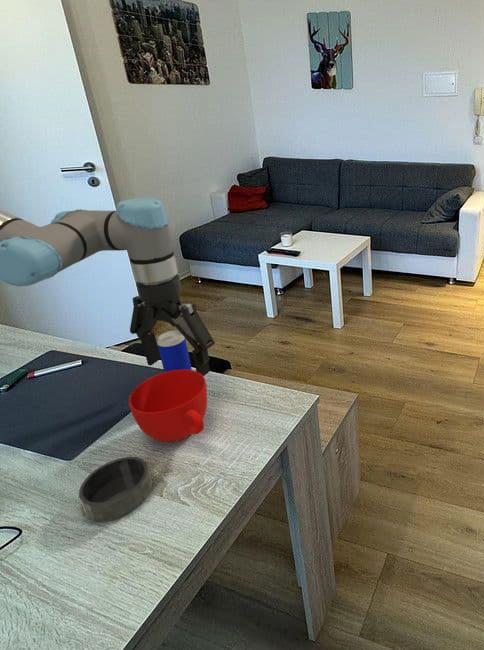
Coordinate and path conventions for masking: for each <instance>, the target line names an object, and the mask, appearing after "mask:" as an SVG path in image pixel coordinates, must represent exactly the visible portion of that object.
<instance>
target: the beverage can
mask: <svg viewBox="0 0 484 650" xmlns="http://www.w3.org/2000/svg"><path fill="white" fill-rule="evenodd" d="M157 345H158V349H159V353H160V357H161V359H160V360H161V365H162V368H163V373H164V372H168V371H172V370H182V369H186V370H193V369H192V364H191V359H190V355H189V349H188V344H187V340H186V338H185V337H184V336H183V335H182V334H181V333H180V331H179V330H178V329H177V330H175V329H174V330H168V331H165V332H163V333H161V334H160V335H158V337H157Z"/></svg>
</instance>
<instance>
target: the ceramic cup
mask: <svg viewBox="0 0 484 650" xmlns="http://www.w3.org/2000/svg"><path fill="white" fill-rule="evenodd" d="M128 405H129V409H130V412H131V414H132V417H133V418H134V420H135V423H136V424H137V426H138V427H139V429H140V430H141V431H142V432H143V434H145V435H146V436H148V437H150V439H153V440H156V441H158V442H163V443H174V442H178V441H182V440H184V439H186V438H188V437H189V436H190V435H198V434H201V432H202V431H203V430H204V428H205V423H204V418H205V415H206V411H207V407H208V390H207V381H206V379H205V376H203V375H202V374H201V373H199V372H197V371H196V370H193V369H192V370H186V369H182V370H172V371H168V372H164V371H163V372H161V373H158V374H155V375H154V376H150V377H149V378H147V379H146V380H144V381H143V382H141V383H140V384H138V385H137V386H136V387H135V388H134V389H133V391H132V392H130V395H129V398H128Z"/></svg>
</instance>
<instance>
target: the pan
mask: <svg viewBox="0 0 484 650" xmlns="http://www.w3.org/2000/svg"><path fill="white" fill-rule="evenodd" d="M152 489H153V480H152V476H151V473H150V468H149V465H148V463H147V462H146V461H145V460H144V459H143V458H141V457H138V456H125V457H119V458H116V459H114V460H110V461H108V462H106V463H104V464H103V465H101V466H98V467H97V468H96V469H95V470H94V471H92V472H91V473H90V474H88V476H87V477H86V478H85V479H84V480H83V482H82V483H81V485H80V487H79V490H78V498H79V500H80V503H81V506H82V508H83V512H84V513H85V516H86V517H87V518H88V519H89V520H92V521H94V522H99V523H105V522H106V523H107V522H111V521H112V522H113V521H115V520H118V519H120V518H122V517H125V516H127V515H129V514H130V513H132V512H133V511H135V510H136V509H138V508H139V507H140V506H141V505H143V503H145V501H146V500H147V498H148V497H149V495H150V493H151V491H152Z"/></svg>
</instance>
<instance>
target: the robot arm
mask: <svg viewBox="0 0 484 650" xmlns="http://www.w3.org/2000/svg"><path fill="white" fill-rule="evenodd" d="M164 207H165V206H164V204H163V202H162V201H161V200H159V199H157V198H156V197H155V198H154V197H139V198H137V197H136V198H134V197H133V198H128V199H125V200H121V201H119V202H118V203H117V205H116V210H98V209H97V210H96V209H95V210H94V209H91V210H88V209H81V208H79V209H75V210H64V211H61V212H58V213H56V214H55V216H54V218H53V219H52V220H51V221H50V223H48V224H46V225H43V226H39V225H36V224H35V223H32V222H30V221H27V220H25V219H23V218H21V217H19V216H16V215H14V214H12V213H10V212H7V211H5V210H4V209H2V208H0V281H2V282H3V283H6V284H8V285H10V286H15V287H29V286H32V285H35V284H38V283H40V282H43V281H45V280H48V279H51V278H52V277H54V276H55V275H57V274H58V273H60V272H62V271H63V270H65V269H68V268H69V267H71V266H73V265H75V264H77V263H80V262H81V261H84V260H85V259H87V258H89V257H92V256H93V255H95V254H97V253H99V252H105V251H108V252H110V251H121V252H122V251H126V252H127V256H128V258H129V262H130V267H131V271H132V276H133V279H134V281H135V282H136V284H135V285H136V289H137V293H138V295H136V296H134V297H132V304H133V308H132V315H131V319H130V320H131V321H130V326H129V332H130V334H132V335H136V336H137V338H139V339H140V344H141V347H142V349H143V351H144V356H145V360H146V363H147V366H153V365H154V364H156V363H158V362H159V361H160V360H161V356H160V352H159V348H158V344H157V342H158V340H157V337H156V333H154V330H153V329H154V328H155V326H156V324H157V322H158V321H159V322H165V323H167V324H170V326H171V327H172V328H173V327H174V328H176V329H177V331H180V333H181V334H182V335H183V336H184V337H185V340H186V342H188V343H189V345H191V347H192V348H193V350H191V351H192V352H191V353H192V357H193V363H194V367H195V371H197V372H199V373H201V374H202V375H203V376H204V377H205V376H206V375H207V374H208V373H210V372H211V369H210V364H209V361H210V356H209V351H208V349H210V348H211V347H212V346H214V345H215V343H216V342H215V340H214V338H213V337H212V335H211V333H210V331H209V330H208V328H207V327H206V325H205V323H204V321H203V320H202V319H201V317H200V314H199V313H198V310H197V308H196V305H195V302H194V301H190V302H188V303H183V302H182V300H181V299H180V296H181V294H182V292H183V288H182V283H181V278H180V275H178V273H179V270H178V265H177V261H176V255H175V252H174V248H173V243H172V239H171V233H170V228H169V220H168V218H167V215H166V212H165V208H164Z"/></svg>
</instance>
